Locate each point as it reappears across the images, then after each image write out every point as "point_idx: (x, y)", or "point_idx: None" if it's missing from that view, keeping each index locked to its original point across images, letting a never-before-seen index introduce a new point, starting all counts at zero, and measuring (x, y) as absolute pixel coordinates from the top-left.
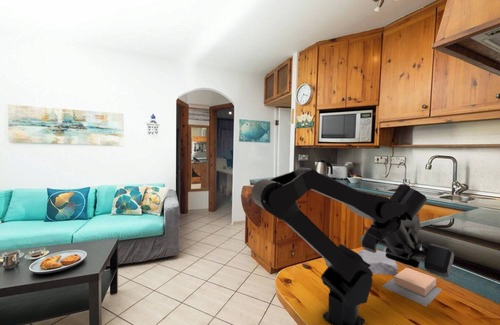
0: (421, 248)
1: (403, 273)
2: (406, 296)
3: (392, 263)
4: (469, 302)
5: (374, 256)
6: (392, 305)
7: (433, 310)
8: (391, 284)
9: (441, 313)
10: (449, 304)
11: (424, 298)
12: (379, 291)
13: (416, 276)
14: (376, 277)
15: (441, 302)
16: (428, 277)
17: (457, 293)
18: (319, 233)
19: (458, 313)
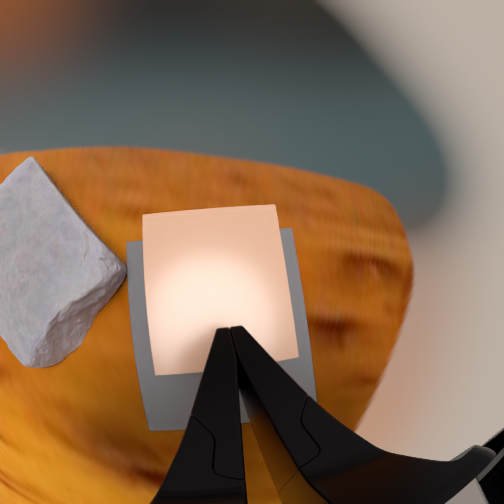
0: (479, 499)
1: (164, 301)
2: (247, 416)
3: (88, 271)
4: (361, 232)
5: (10, 257)
6: (247, 489)
7: (333, 395)
8: (159, 383)
9: (351, 386)
10: (343, 306)
11: (290, 365)
12: (167, 459)
13: (217, 272)
14: (89, 368)
15: (326, 320)
16: (254, 229)
17: (321, 203)
18: None
19: (374, 333)
